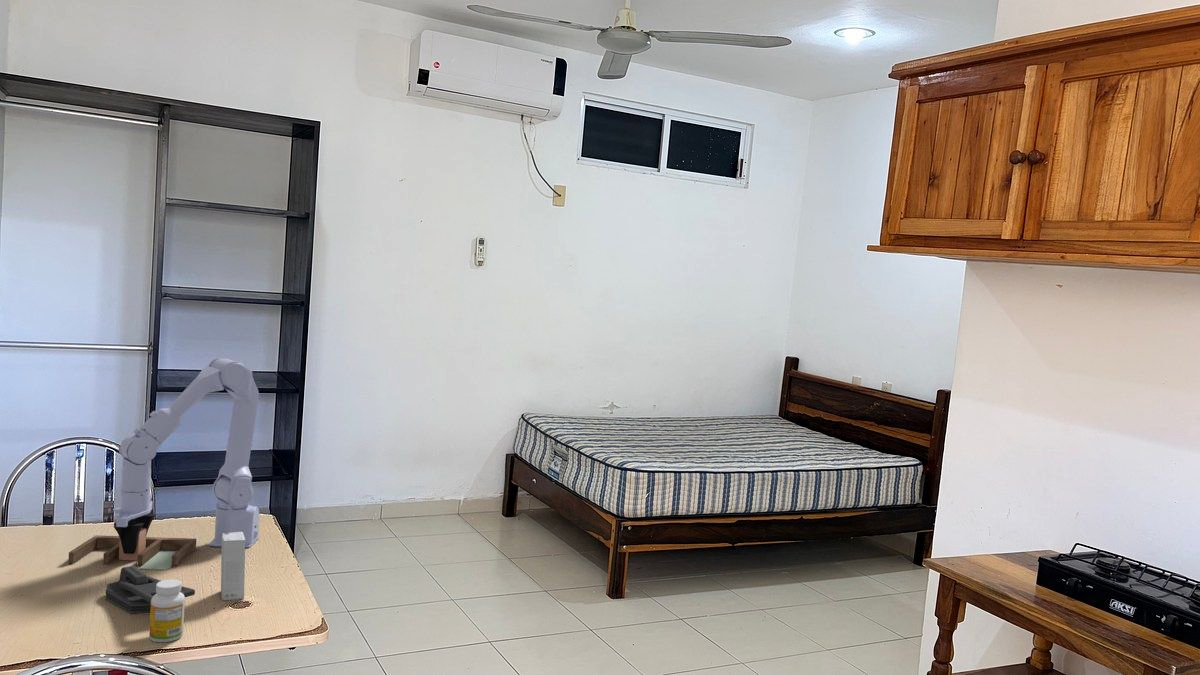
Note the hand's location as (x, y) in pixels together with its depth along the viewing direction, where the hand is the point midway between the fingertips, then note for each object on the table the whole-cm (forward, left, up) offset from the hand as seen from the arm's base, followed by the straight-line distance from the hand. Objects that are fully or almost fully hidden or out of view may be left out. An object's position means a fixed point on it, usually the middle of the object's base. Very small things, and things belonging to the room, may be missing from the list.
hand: (133, 550), depth 193 cm
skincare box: (-27, +21, -2) cm, 34 cm away
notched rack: (0, 0, -2) cm, 2 cm away
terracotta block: (0, 0, -2) cm, 2 cm away
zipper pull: (-14, +29, -2) cm, 33 cm away
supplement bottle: (-22, +42, -2) cm, 47 cm away
